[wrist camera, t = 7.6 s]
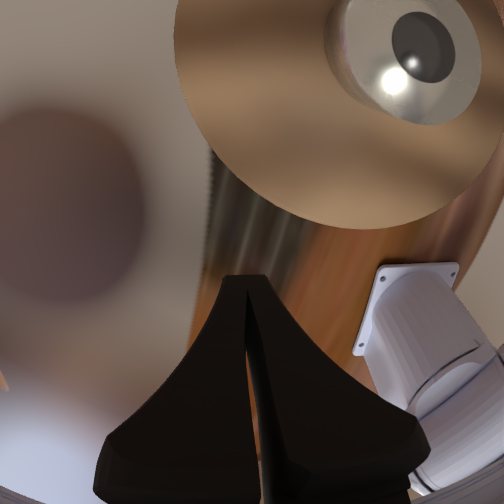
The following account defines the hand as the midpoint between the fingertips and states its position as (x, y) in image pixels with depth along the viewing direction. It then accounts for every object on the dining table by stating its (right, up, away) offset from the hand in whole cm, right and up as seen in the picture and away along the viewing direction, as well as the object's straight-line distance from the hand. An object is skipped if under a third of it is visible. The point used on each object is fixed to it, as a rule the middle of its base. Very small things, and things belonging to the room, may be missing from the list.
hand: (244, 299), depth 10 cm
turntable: (+7, +12, +3) cm, 14 cm away
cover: (+7, +12, +2) cm, 14 cm away
